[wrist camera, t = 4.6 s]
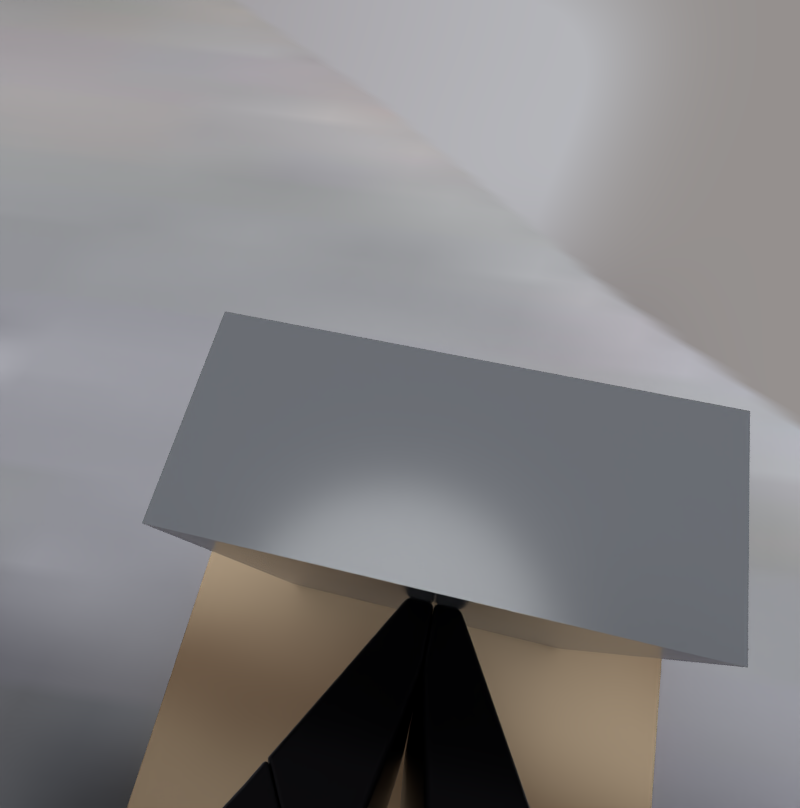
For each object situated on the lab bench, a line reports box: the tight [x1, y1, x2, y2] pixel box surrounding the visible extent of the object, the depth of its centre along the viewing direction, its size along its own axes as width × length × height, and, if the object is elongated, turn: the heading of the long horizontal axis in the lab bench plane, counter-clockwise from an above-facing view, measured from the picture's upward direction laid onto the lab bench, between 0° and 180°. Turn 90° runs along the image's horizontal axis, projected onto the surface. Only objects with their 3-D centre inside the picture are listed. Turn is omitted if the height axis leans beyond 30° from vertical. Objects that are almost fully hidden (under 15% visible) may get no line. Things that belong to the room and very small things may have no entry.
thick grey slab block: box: [142, 312, 750, 667], centre depth 11 cm, size 3×7×9 cm, turn 77°
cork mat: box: [127, 551, 661, 808], centre depth 14 cm, size 16×12×1 cm
